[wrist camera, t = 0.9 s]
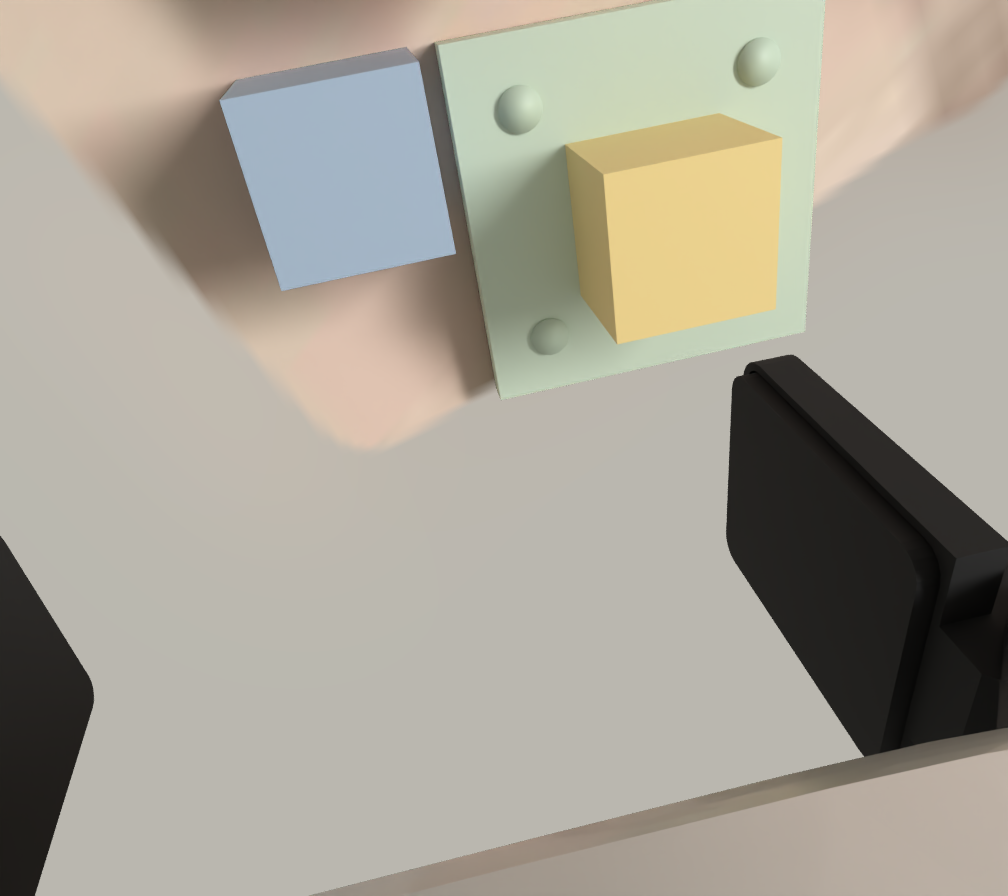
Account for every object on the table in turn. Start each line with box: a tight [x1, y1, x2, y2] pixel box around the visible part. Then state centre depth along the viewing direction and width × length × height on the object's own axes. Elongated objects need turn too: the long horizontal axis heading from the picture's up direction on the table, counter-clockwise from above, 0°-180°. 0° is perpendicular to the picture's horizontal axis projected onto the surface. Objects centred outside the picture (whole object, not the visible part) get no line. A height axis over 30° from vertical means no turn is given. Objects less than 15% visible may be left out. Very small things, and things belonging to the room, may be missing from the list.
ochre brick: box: [565, 113, 782, 344], centre depth 29 cm, size 6×6×5 cm
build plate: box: [434, 0, 825, 400], centre depth 32 cm, size 14×14×1 cm
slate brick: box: [219, 47, 456, 291], centre depth 27 cm, size 6×6×5 cm
